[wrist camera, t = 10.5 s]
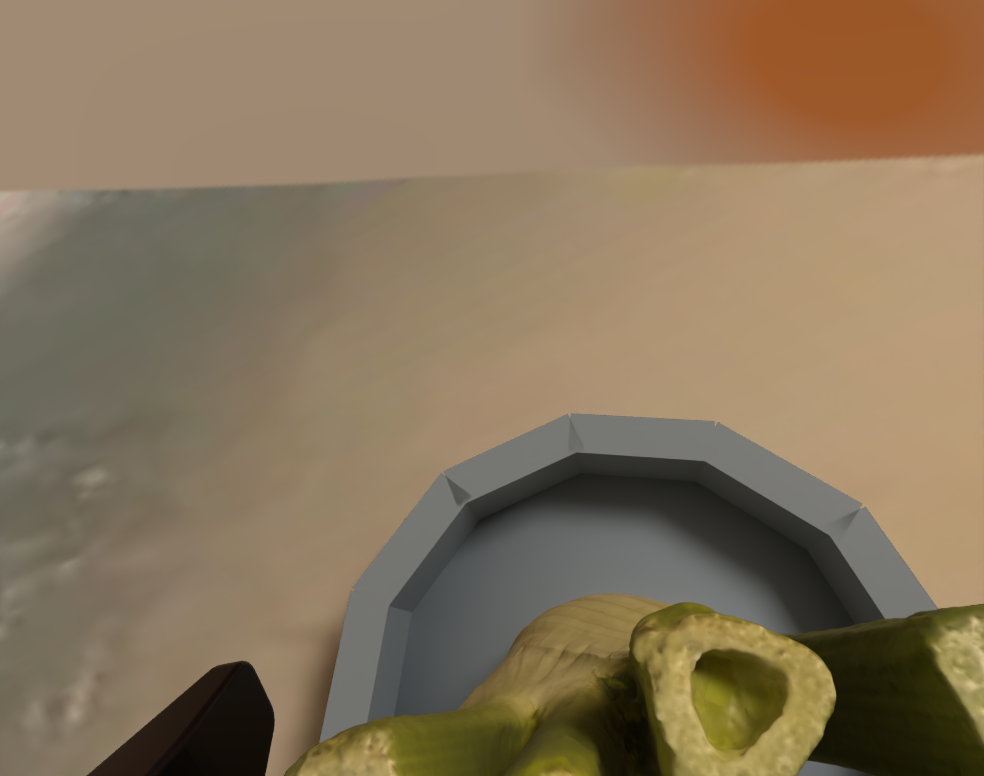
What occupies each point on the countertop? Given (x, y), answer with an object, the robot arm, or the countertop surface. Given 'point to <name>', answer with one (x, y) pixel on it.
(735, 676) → the fennel bulb
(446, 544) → the slate dish
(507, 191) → the countertop surface
